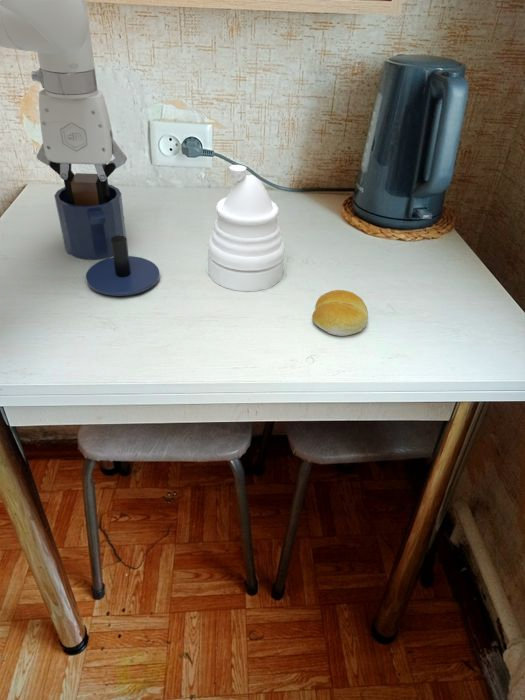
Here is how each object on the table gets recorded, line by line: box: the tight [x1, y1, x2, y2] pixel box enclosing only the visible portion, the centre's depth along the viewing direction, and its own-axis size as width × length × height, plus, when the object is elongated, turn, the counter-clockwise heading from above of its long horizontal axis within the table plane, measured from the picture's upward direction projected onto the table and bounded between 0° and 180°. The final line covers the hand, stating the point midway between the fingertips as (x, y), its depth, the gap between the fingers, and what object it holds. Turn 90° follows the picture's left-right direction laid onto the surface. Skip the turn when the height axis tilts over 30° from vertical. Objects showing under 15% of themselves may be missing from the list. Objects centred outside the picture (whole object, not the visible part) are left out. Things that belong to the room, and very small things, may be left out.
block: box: [71, 172, 100, 206], centre depth 85 cm, size 4×4×4 cm
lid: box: [85, 236, 160, 297], centre depth 81 cm, size 12×12×7 cm
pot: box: [53, 183, 127, 261], centre depth 89 cm, size 11×16×10 cm, turn 25°
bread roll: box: [311, 289, 369, 337], centre depth 77 cm, size 8×9×4 cm
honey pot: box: [207, 164, 285, 292], centre depth 82 cm, size 13×13×18 cm
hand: (89, 199), depth 86 cm, fingers closed on block, 4 cm apart
